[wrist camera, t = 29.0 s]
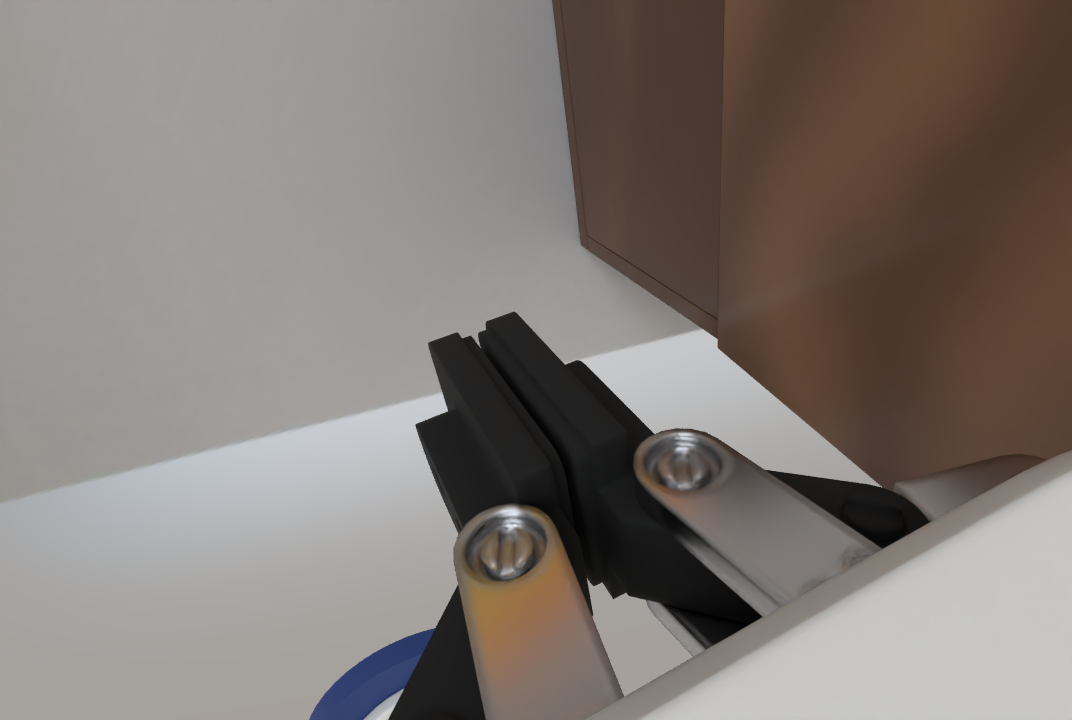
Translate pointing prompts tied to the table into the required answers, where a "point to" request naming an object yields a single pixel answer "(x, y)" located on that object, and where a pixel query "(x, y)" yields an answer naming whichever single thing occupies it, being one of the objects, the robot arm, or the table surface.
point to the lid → (902, 223)
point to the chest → (648, 141)
